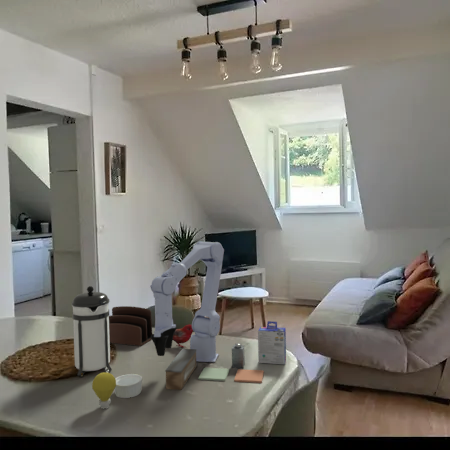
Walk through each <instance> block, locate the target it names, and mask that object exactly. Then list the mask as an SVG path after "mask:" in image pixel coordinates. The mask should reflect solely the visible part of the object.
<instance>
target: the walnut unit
mask: <svg viewBox="0 0 450 450" xmlns="http://www.w3.org/2000/svg"><path fill="white" fill-rule="evenodd" d="M196 368H197V361H196V349H190V348H182V349H181V350H180V351H179V352H178V353H177V355H176V356H175V357H174V359H173V360H172V361H171V363H169V365H168V366H167V367H166V369H165V370H164V372H165V388H166V390H175V391H176V390H177V391H179V390H180V391H182V390H183V388H184V387H185V385H186V383H187V382H188V380H189V378H190V377H191V375H192V374H193V372H194V371H195V369H196Z"/></svg>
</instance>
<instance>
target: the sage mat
mask: <svg viewBox="0 0 450 450" xmlns="http://www.w3.org/2000/svg"><path fill="white" fill-rule="evenodd" d="M229 372H230V368H223V367H221V368H219V367H203V369H202V371H201V372H200V374H199V376H198V377H197V378H198V380H202V381H203V380H204V381H221V382H222V381H223V382H225V381H226V380H227V378H228V375H229Z"/></svg>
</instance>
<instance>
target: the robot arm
mask: <svg viewBox="0 0 450 450" xmlns="http://www.w3.org/2000/svg"><path fill="white" fill-rule="evenodd" d="M224 252H225V249H224V248H223V246H222V244H221V243H220V242H218V241H215V242H214V241H213V242H211V241H202V240H201V241H197V242H196V243H195V244H194V245H193V246H192V250H191V251H190V252H189V253H188V254H187V255H186V256H185V257H184V258H183V259H182V260H181V261H180V262H174V263H171V265H170V267H169V268H168V269H167V270H165V271H163V272H162V274H161V275H160V276H156V277H155V278H153V280H152V281H151V285H150V287H149V288H150V290H151V291H152V294H153V298H154V316H155V317H154V318H155V323H154V324H155V325H154V331H153V333H152V335H151V339H152V340H151V341H152V343H153V344H154V348H155V351H156V355H157V356H158V357H164V356H165V354H166V349H171V348H172V345H173V336H174V333H175V330H176V329H178V328H177V324H175V323H174V319H173V295H172V294H173V293H174V292H175V289H176V286H177V285H178V284H179V282H181V280H183V279H184V277H186V276H187V274H188V271H187V270H188V269H190V268H191V267H193V266H194V265H195V264H196V263H197V262H198V261H201V262H202V263H204V264H205V266H206V275H205V280H204V288H203V292H202V297H201V298H202V300H201V304H200V305H201V306H200V309H198V310H197V311H195V312H194V313H195V314H194V317H193V319H192V322H191V325H192V329H193V333H194V334H192V335H191V338H190V339H189V349H196V362H202V363H203V362H204V363H215V362H216V360H217V359H218V357H219V353H217V345H216V343H217V339H216V337H217V336H218V334H219V333H220V329H221V323H220V319H221V316H220V314H219V313H218V312H216V305H217V301H218V292H219V286H220V281H221V274H222V267H223V260H224Z"/></svg>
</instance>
